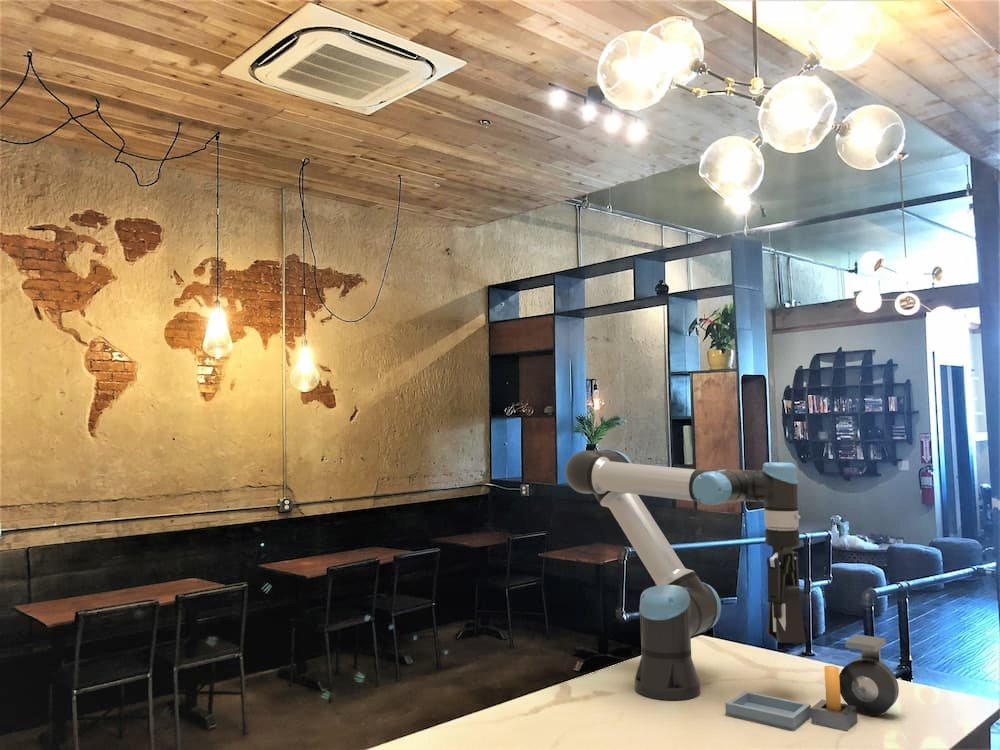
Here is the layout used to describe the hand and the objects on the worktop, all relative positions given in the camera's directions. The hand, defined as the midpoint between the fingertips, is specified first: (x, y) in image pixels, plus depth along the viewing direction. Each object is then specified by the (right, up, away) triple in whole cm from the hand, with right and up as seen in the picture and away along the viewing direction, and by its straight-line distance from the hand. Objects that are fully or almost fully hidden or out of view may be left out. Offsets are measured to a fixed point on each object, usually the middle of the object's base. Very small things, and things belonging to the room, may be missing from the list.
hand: (785, 629), depth 175 cm
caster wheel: (+13, -14, -13) cm, 23 cm away
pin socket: (+3, -13, -18) cm, 23 cm away
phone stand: (0, -2, 0) cm, 2 cm away
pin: (+3, -13, -18) cm, 23 cm away
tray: (-9, -14, -14) cm, 22 cm away
